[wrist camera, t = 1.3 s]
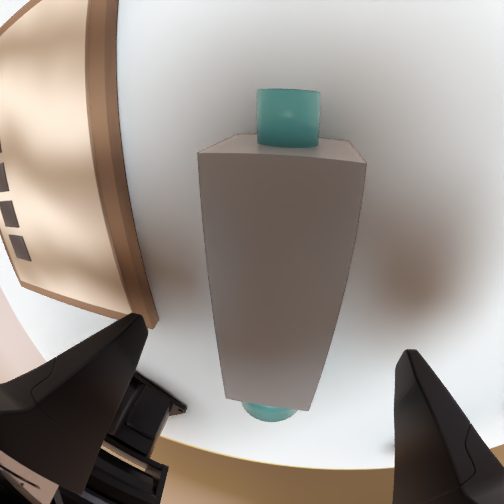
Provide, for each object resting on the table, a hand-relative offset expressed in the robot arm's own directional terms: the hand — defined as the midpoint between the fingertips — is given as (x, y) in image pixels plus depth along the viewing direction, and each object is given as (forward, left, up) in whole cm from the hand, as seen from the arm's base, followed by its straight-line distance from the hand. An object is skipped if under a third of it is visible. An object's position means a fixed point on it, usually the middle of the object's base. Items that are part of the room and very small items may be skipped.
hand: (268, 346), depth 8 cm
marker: (0, 0, -5) cm, 5 cm away
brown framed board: (-6, +15, -4) cm, 16 cm away
